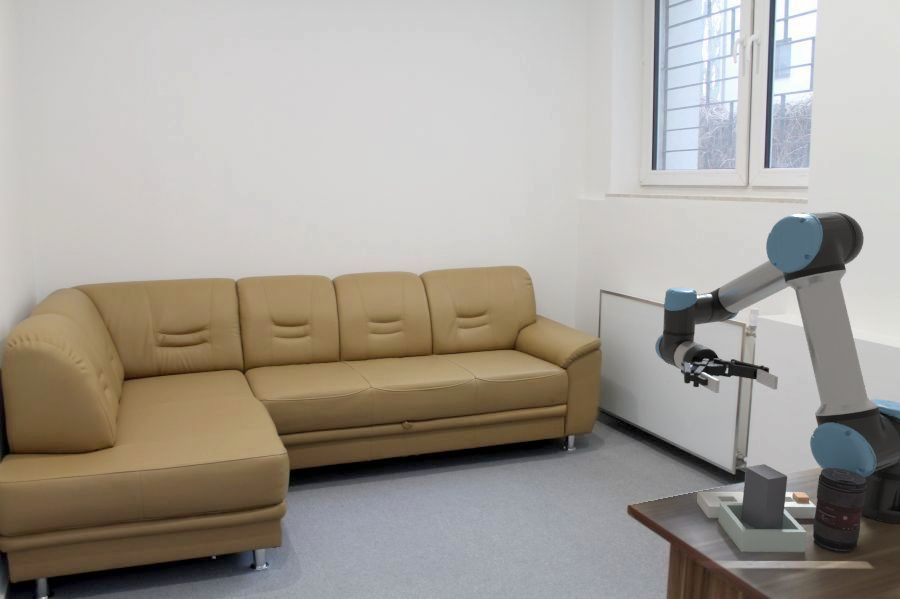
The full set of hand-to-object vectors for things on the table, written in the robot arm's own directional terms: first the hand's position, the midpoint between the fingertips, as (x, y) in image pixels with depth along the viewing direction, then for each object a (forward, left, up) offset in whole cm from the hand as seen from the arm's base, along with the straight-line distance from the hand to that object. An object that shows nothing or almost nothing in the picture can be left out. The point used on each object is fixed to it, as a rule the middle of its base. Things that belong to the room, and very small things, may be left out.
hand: (747, 384), depth 167 cm
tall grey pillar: (-14, +13, -25) cm, 31 cm away
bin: (-14, +13, -26) cm, 32 cm away
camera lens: (-24, +4, -26) cm, 35 cm away
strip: (-7, +4, -26) cm, 27 cm away
